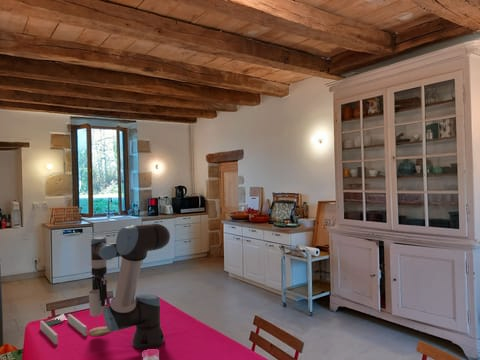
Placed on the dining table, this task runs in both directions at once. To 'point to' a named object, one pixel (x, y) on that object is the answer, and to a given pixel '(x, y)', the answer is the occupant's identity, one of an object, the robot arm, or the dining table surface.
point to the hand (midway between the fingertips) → (99, 310)
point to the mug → (94, 302)
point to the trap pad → (53, 322)
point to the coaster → (99, 331)
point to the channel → (71, 320)
